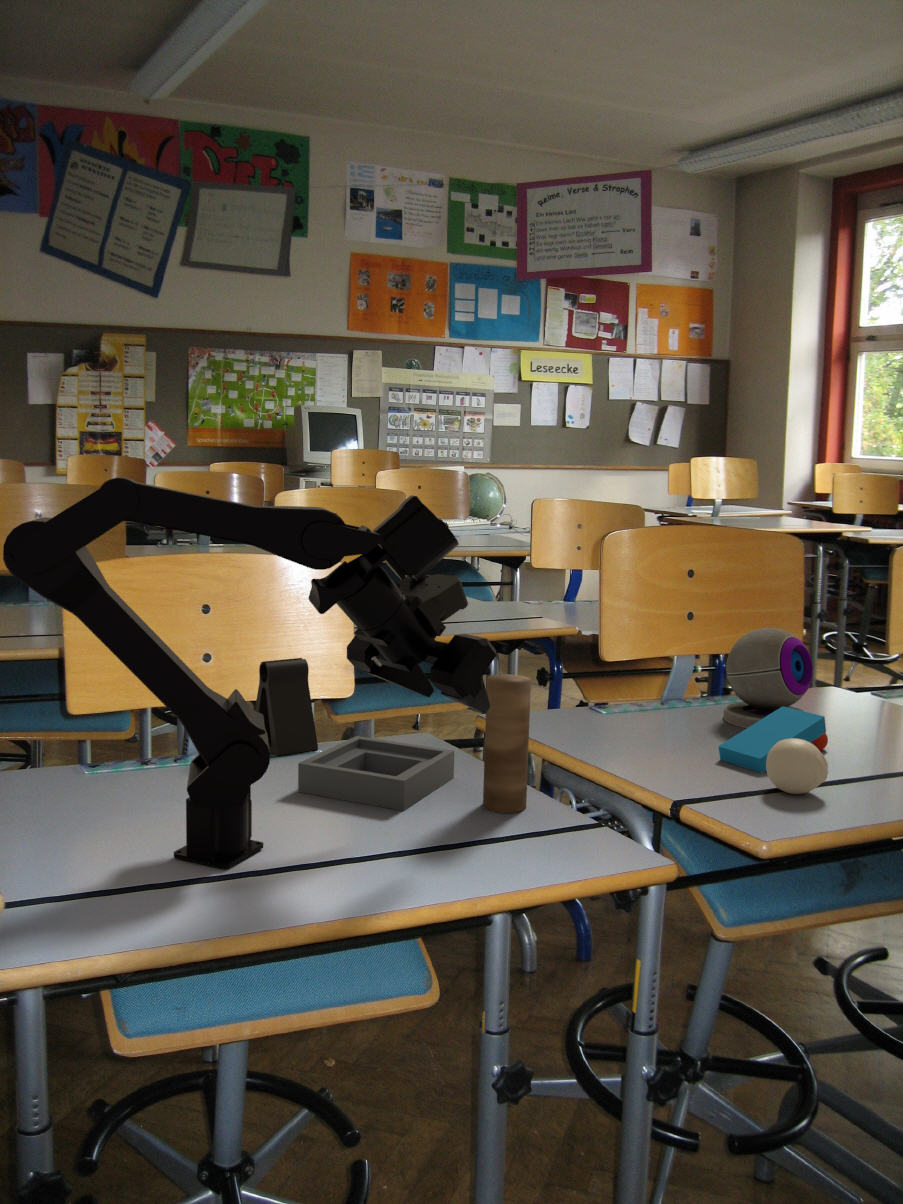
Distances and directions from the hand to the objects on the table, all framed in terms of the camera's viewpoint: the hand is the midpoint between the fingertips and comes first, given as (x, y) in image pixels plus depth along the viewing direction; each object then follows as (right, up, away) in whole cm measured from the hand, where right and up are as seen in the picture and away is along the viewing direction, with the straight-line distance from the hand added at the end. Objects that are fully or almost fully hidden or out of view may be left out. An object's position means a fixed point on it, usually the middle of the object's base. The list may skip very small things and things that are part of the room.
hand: (458, 701), depth 111 cm
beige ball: (+42, -13, +15) cm, 46 cm away
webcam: (+49, -8, +51) cm, 71 cm away
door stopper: (-24, -9, +29) cm, 39 cm away
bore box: (-10, -11, +13) cm, 20 cm away
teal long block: (+45, -11, +31) cm, 56 cm away
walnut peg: (+5, -13, +7) cm, 15 cm away
